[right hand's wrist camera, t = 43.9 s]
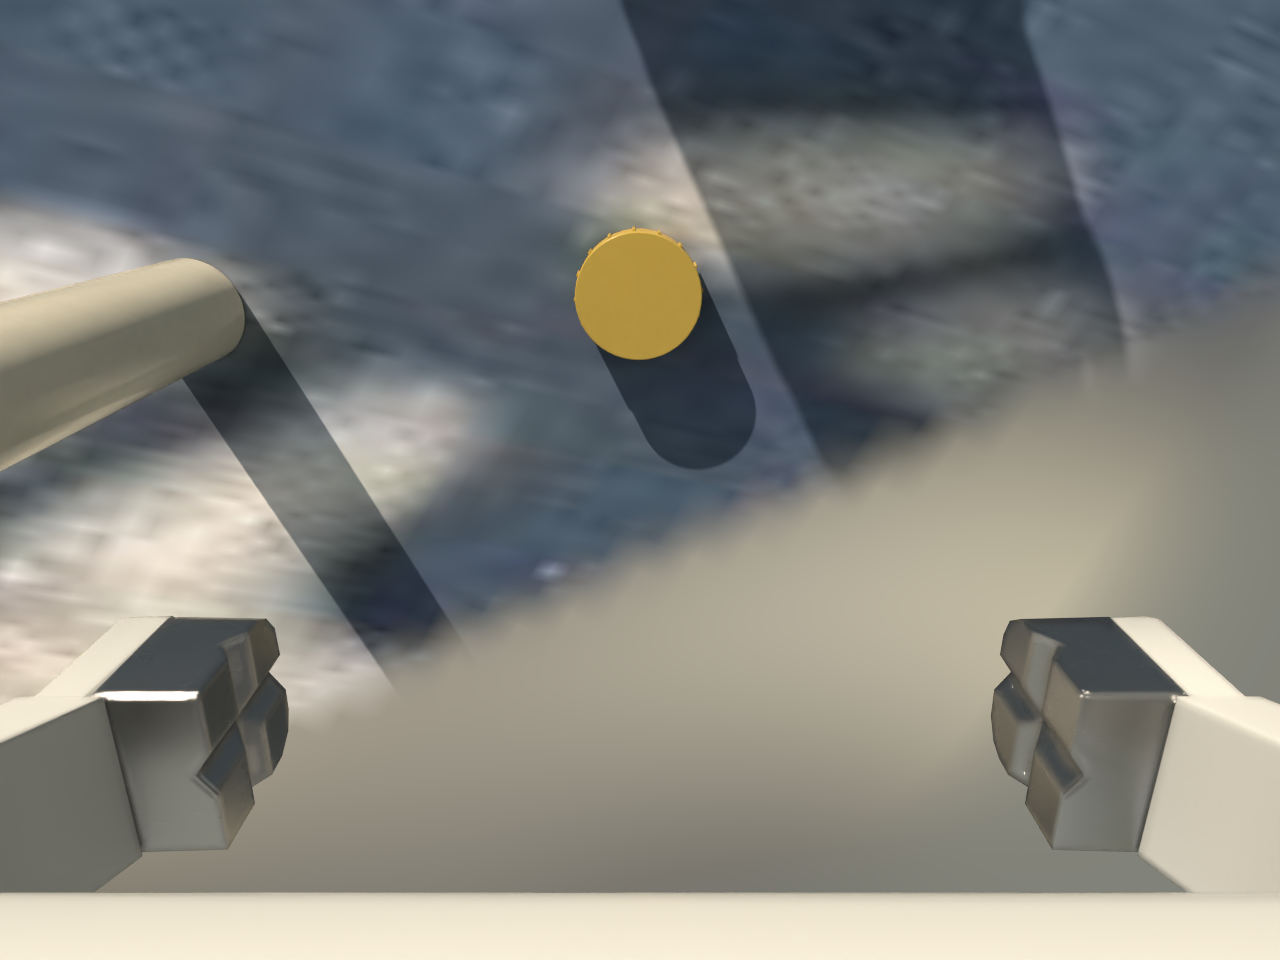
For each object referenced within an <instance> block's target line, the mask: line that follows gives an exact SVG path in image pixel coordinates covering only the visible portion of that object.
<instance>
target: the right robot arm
mask: <svg viewBox="0 0 1280 960" xmlns="http://www.w3.org/2000/svg"><path fill="white" fill-rule="evenodd" d="M279 655H280V653H279V648H278V643H277V638H276V633H275V628H274V627H273V626H272V625H271V624H270V623H269V621H268V620H267V619H253V618H199V617H177V618H175V617H173V616H158V617H131V618H122V619H121V620H120V621H118V622H117V623H116V624H115V625H114V626H113V627H112V628H111V629H110V630H108V631H107V632H106V633H105V634H104V635H103V636H102V637H101V638H100V639H98V640H97V641H96V642H95V643H94V644H93V645H92V646H91V647H90V648H88V649H87V650H86V651H85V652H84V653H83V654H82V655H81V656H80V657H78V658H77V659H76V660H75V661H74V662H73V663H72V664H71V665H70V666H68V667H67V668H66V669H65V670H64V671H63V672H62V673H61V674H60V675H58V676H57V677H56V678H55V679H54V680H53V681H52V682H51V683H50V684H48V685H47V686H46V687H45V688H44V689H43V690H42V691H41V692H40V693H38V694H37V695H36V696H35V697H18V698H15V699H13V700H10V701H8V702H5V703H3V704H0V960H1280V704H1277V703H1275V702H1272V701H1270V700H1267V699H1265V698H1262V697H1245V696H1244V695H1243V694H1242V693H1240V692H1239V691H1238V690H1237V689H1236V688H1235V687H1234V686H1233V685H1232V684H1231V683H1229V682H1228V681H1227V680H1226V679H1225V678H1224V677H1223V676H1222V675H1221V674H1219V673H1218V672H1217V671H1216V670H1215V669H1214V668H1213V667H1212V666H1211V665H1209V664H1208V663H1207V662H1206V661H1205V660H1204V659H1203V658H1202V657H1201V656H1199V655H1198V654H1197V653H1196V652H1195V651H1194V650H1193V649H1192V648H1191V647H1190V646H1188V645H1187V644H1186V643H1185V642H1184V641H1183V640H1182V639H1181V638H1180V637H1178V636H1177V635H1176V634H1175V633H1174V632H1173V631H1172V630H1171V629H1170V628H1169V627H1167V626H1166V625H1165V624H1164V623H1163V622H1162V621H1161V620H1159V619H1156V618H1153V617H1149V616H1134V617H1111V618H1110V617H1089V618H1048V619H1019V620H1013V621H1010V622H1009V624H1008V626H1007V628H1006V630H1005V633H1004V636H1003V641H1002V647H1001V652H1000V655H1001V657H1002V658H1003V660H1004V661H1005V663H1006V665H1007V666H1008V668H1009V669H1010V671H1011V673H1010V674H1009V675H1008V676H1007V677H1006V678H1005V679H1004V680H1003V681H1002V682H1001V683H1000V684H999V685H998V686H997V687H996V688H995V690H994V697H993V704H992V712H991V720H992V730H993V741H994V744H995V747H996V750H997V753H998V756H999V759H1000V761H1001V763H1002V764H1003V766H1004V768H1005V770H1006V772H1007V773H1008V775H1010V776H1011V777H1013V778H1014V779H1016V780H1018V781H1019V782H1021V783H1022V784H1024V785H1026V786H1027V787H1028V790H1027V796H1026V801H1025V804H1026V806H1027V808H1028V809H1029V811H1030V813H1031V814H1032V816H1033V818H1034V819H1035V821H1036V823H1037V824H1038V826H1039V828H1040V829H1041V831H1042V833H1043V834H1044V836H1045V838H1046V839H1047V841H1048V843H1049V845H1050V846H1051V848H1052V849H1053V850H1084V851H1120V852H1138V856H1139V857H1140V858H1141V859H1143V860H1144V861H1145V862H1147V863H1148V864H1149V865H1151V866H1152V867H1153V868H1155V869H1156V870H1157V871H1159V872H1160V873H1161V874H1163V875H1164V876H1165V877H1167V878H1168V879H1169V880H1171V881H1172V882H1173V883H1175V884H1176V885H1177V886H1179V887H1180V888H1181V889H1183V890H1184V891H1185V892H1081V893H1080V892H1079V893H1078V892H1075V893H1073V892H1061V893H1060V892H1057V893H1055V892H1049V893H1048V892H1047V893H1046V892H1043V893H1042V892H1040V893H1039V892H1035V893H1033V892H1021V893H1020V892H1019V893H1016V892H1010V893H1008V892H1006V893H1005V892H1004V893H1003V892H1002V893H998V892H997V893H94V892H95V891H96V890H98V889H99V888H100V887H101V886H103V885H104V884H106V883H107V882H108V881H110V880H111V879H112V878H114V877H115V876H116V875H118V874H119V873H120V872H122V871H123V870H124V869H126V868H127V867H128V866H130V865H131V864H132V863H134V862H135V861H136V860H138V859H139V858H140V857H142V852H159V851H195V850H227V849H228V848H229V846H230V845H231V843H232V841H233V840H234V838H235V836H236V835H237V833H238V831H239V830H240V828H241V826H242V824H243V823H244V821H245V819H246V818H247V816H248V814H249V813H250V811H251V809H252V807H253V806H254V804H255V801H254V796H253V790H252V787H253V786H254V785H256V784H258V783H259V782H261V781H262V780H264V779H266V778H267V777H269V776H270V775H272V773H273V771H274V770H275V768H276V766H277V764H278V762H279V761H280V759H281V757H282V754H283V750H284V746H285V742H286V737H287V733H288V710H289V709H288V702H287V695H286V689H285V688H284V687H283V686H282V685H281V684H280V683H279V682H278V681H277V680H276V679H275V678H274V677H273V676H272V675H271V674H270V673H269V671H270V669H271V668H272V666H273V665H274V663H275V661H276V660H277V658H278V657H279Z"/></svg>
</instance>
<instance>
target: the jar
mask: <svg viewBox="0 0 1280 960" xmlns="http://www.w3.org/2000/svg"><path fill="white" fill-rule="evenodd" d="M244 326H245V314H244V308H243V304H242V301H241V298H240V296H239V294H238V292H237V290H236V289H235V287H234V286H233V284H232V283H231V282H230V281H229V280H228V279H227V278H226V277H225V276H224V275H223V274H222V273H221V272H220V271H218V270H217V269H215V268H214V267H212V266H210V265H208V264H206V263H204V262H201V261H198V260H193V259H186V258H180V259H172V260H168V261H164V262H160V263H156V264H152V265H148V266H144V267H140V268H136V269H132V270H128V271H124V272H120V273H116V274H112V275H108V276H104V277H100V278H96V279H92V280H88V281H84V282H80V283H76V284H72V285H68V286H64V287H60V288H56V289H52V290H48V291H43V292H39V293H35V294H31V295H27V296H23V297H19V298H15V299H11V300H7V301H3V302H0V472H1V471H3V470H5V469H7V468H9V467H11V466H13V465H15V464H17V463H19V462H21V461H23V460H25V459H27V458H29V457H31V456H32V455H34V454H36V453H38V452H40V451H42V450H44V449H46V448H48V447H50V446H52V445H54V444H56V443H58V442H60V441H62V440H64V439H66V438H67V437H69V436H71V435H73V434H75V433H77V432H79V431H81V430H83V429H85V428H87V427H89V426H91V425H93V424H95V423H97V422H99V421H100V420H102V419H104V418H106V417H108V416H110V415H112V414H114V413H116V412H118V411H120V410H122V409H124V408H126V407H128V406H130V405H132V404H133V403H135V402H137V401H139V400H141V399H143V398H145V397H147V396H149V395H151V394H153V393H155V392H157V391H159V390H161V389H163V388H165V387H166V386H168V385H170V384H172V383H174V382H176V381H178V380H180V379H182V378H184V377H186V376H188V375H190V374H192V373H194V372H196V371H198V370H199V369H201V368H203V367H205V366H207V365H209V364H211V363H213V362H215V361H217V360H219V359H221V358H223V357H225V356H226V355H228V354H229V353H230V352H231V351H232V350H233V349H234V348H235V347H236V346H237V344H238V343H239V341H240V339H241V337H242V334H243V331H244Z"/></svg>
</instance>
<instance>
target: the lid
mask: <svg viewBox="0 0 1280 960" xmlns="http://www.w3.org/2000/svg"><path fill="white" fill-rule="evenodd" d="M588 254H589V255H588V256H587V258H586V260H585V261H584V264H583V266H582V268H581V270H580V271H578V273H577V275H576V277H578V279H577V282H576V288H575V298H574V302H575V303H576V309H577V314H578V317H579V319H580V322H581V325H582V326H583V328H584V330H585V331H586V332H587V334H588V335H589V337H590V338H591V339H592V340H593V341H594V342H595V343H596V344H597V345H599V346H600V347H601V348H602V349H604V350H605V351H607V352H609V353H611V354H613V355H615V356H618V357H621V358H625V359H631V360H646V359H652V358H656V357H659V356H662V355H664V354H666V353H668V352H670V351H672V350H673V349H675V348H676V347H678V346H679V345H680V344H681V343H682V342H683V341H684V340H685V339H686V338H687V337H688V336H689V334H690V333H691V331H692V330H693V328H694V326H695V324H696V322H697V320H698V317H700V310H701V305H702V293H703V288H702V286H701V282H700V278H699V275H698V272H697V270H696V268H698V267H697V265H696V263H695V262H694V263H693V261H692V259H691V258H690V256H689V255H688V253H687V252H686V251H685V250H684V248H683V246H682V243H680V242H679V243H677V242H676V241H675V240H673V239H672V238H670V237H669V236H667V235H665V234H663V233H661V232H660V230H657V231H654V230H649V229H635V227H633V228H632V229H628V230H623V231H620V232H617V233H614V234H611V233H610V234H608V237H607V238H605V239H604V240H603V241H601V242H600V243H599V244H598V245H597V246H596V247H594V249H593V250H592V249H590V250H589V252H588Z"/></svg>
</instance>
